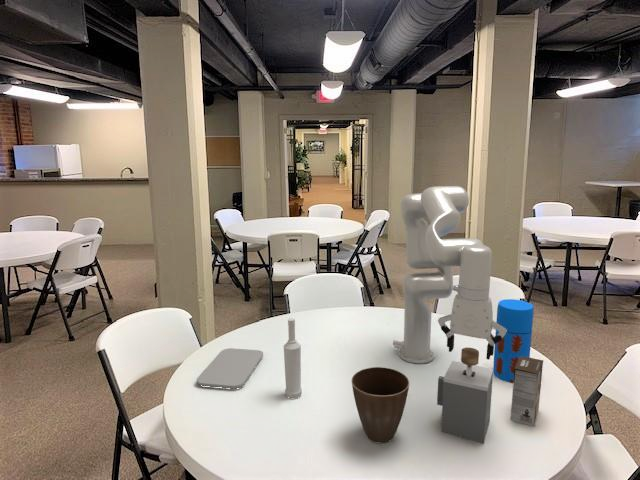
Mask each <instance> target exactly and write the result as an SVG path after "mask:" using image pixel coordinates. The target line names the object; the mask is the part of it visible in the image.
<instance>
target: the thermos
mask: <svg viewBox="0 0 640 480" xmlns="http://www.w3.org/2000/svg"><path fill="white" fill-rule="evenodd" d="M496 310H497V311H496V320H495V322H496V323H498V324H499V325H501V326H502V327H504V328H506V329H507V332H506V334H505V335H504V337H503V338H502V339H501V340H500V341H499V342H497V343H496V344H495V345H494V353H493V376H494V377H496V379H499V380H501V381H502V382H506V383H511V384H513V381H514V368H515V366H516V364H517V361H518V359H519V357H520V356H523V357H529V358H531V347H532V346H531V345H532V333H533V324H534V323H533V322H534V311H535V310H534V305H533V304H532V303H530V302H528V301H526V300H520V299H515V298H513V299H512V298H511V299H510V298H509V299H508V298H507V299H501V300H499V301H498V304H497V309H496ZM498 334H499V331H497V330H496V329H495V334H494V335H495V336H496V335H498ZM495 336H494V337H495Z"/></svg>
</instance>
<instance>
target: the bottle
mask: <svg viewBox="0 0 640 480" xmlns="http://www.w3.org/2000/svg"><path fill="white" fill-rule="evenodd" d="M287 327H288V340H287V342H286V343H284V345H283V360H284V376H285V377H284V379H285V389H284V393H285V396H287V397H289V398H288V399H290V398H297V399H299V398H300V397H302V390H303V389H302V385H301V384H302V376H301V375H302V374H301V373H302V367H301V366H302V363H301V362H302V361H301V357H302V356H301V355H302V354H301V353H302V352H301V344H300V343H299V342H297V339H296V328H295V327H296V320H295V318H288V319H287ZM287 397H286V398H287ZM298 397H299V398H298Z"/></svg>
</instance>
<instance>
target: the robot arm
mask: <svg viewBox="0 0 640 480" xmlns="http://www.w3.org/2000/svg"><path fill="white" fill-rule="evenodd" d="M469 201H470V198H469V193H468V192H467V191H466V189H465V188H463V187H462V186H459V185H443V186H442V185H441V186H439V185H437V186H430V187H427V188H426V189H424V190H423V191H422V193H421V192H420V193H411V194H407V195H405V196H404V197H403V198H402V199H401V203H400V214H401V218H402V221H403V223H404V227H405V233H406V234H405V244H406V247H405V248H406V262H407V263H406V264H407V265H408V267H409V268H411V269H416V270H427V269H429V270H431V269H432V270H433V269H436V271H433V272H432V271H429V272H428V271H426V272H425V271H423V272H422V271H421V272H412V273H408V274H406V275H405V276H404V277H403V279H402V292H403V299H404V313H403V314H404V318H403V319H404V320H403V321H404V322H403V324H404V325H403V340H401V341H399V340H395V339H394V340H393V342H392V345H393V348H394V349H399V351H398V352H399V353H398V356H399V357H400V358H401V359H402V360H403V361H405V362H408V363H410V364H411V363H412V364H418V365H419V364H427V363H431V362H432V361H434V359H435V353H434V351H432V349H431V338H432V337H431V335H432V334H431V333H432V310H431V306H430V305H428V303H426V300H436V299H437V300H438V299H439V300H440V299H447V298H450V297H451V296H452V294H453V291H455V292H456V294H455V296H454V298H453V303H452V308H451V313H450V314H448V315H447V314H446V315H444V316H441V317H439V318H438V319H437V322H438V324H439V326H440V329H441V331H442V332H443V333H444V335H445V337H446V338H447V339H446V347H447V348H448V352H449V353H451V352H453V350H454V347H455V335H460V336H466V337H470V338H476V339H482V340H486V341H487V342H488V343H487V346H486V356H485V357H486V360H490V359H491V356H492V357H494V349H495V344H496V343H497V342H499V341H500V340H501V339H502V338H503V337H504V335H505V334H506V332H507V329H506V328H504V327H502V326H501V325H499V324H498V323H496V320H493V318H494V317H493V313H494V312H493V302H492V301H493V300H492V298H491V297H490V286H491V271H492V259H493V252H492V249H491V248H490V247H489V246H487V245H485V244H484V243H483V242H482V241H481V239H478V238H475V237H474V238H472V237H468V238H467V237H465V238H442V237H444V236H446V235H448V234H450V233H452V232H453V231H455V230H456V229H457V228H458V227H459V225H460V223H461V219H462V218H461V214H462V213H465V212H466V211H467V209H468V207H469V205H470V204H469V203H470V202H469ZM425 219H428V220H429V222H430V223H429V224H428V222H427V221H426V220H425ZM453 267H459V278H458V285H454V272H453V271H454V270H453V269H454V268H453ZM446 322H450V324H449V325H450V326H449V327H448V325H447V324H446ZM493 329H495V331H496V330H497V331H499V334H498V335H496V334H495V335H496V336H494V334H493V333H492V331H493Z"/></svg>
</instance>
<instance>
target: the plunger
mask: <svg viewBox="0 0 640 480" xmlns="http://www.w3.org/2000/svg"><path fill="white" fill-rule="evenodd" d="M460 352H461V354H460V356H461V358H460V362H461V363H464V364H466V365H467V368H466V376H471V377H472V366H473V365H476V366H478V364H479V361H480V359H479V357H480V351H479V350H478V349H476V348H473V347H463V348H462V349H461V351H460Z"/></svg>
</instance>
